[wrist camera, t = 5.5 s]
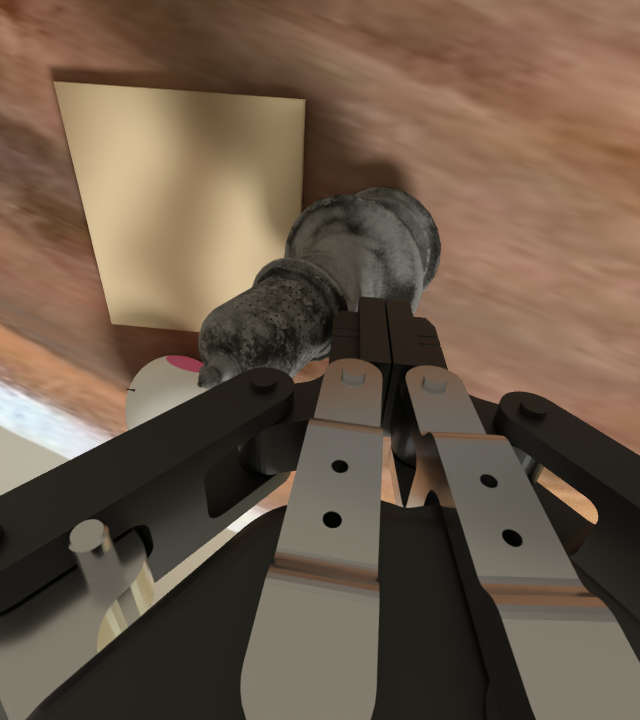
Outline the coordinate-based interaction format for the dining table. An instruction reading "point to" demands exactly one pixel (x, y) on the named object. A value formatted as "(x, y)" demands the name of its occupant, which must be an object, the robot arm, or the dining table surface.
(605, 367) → the dining table surface
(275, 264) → the grey chess piece
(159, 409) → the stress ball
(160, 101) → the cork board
